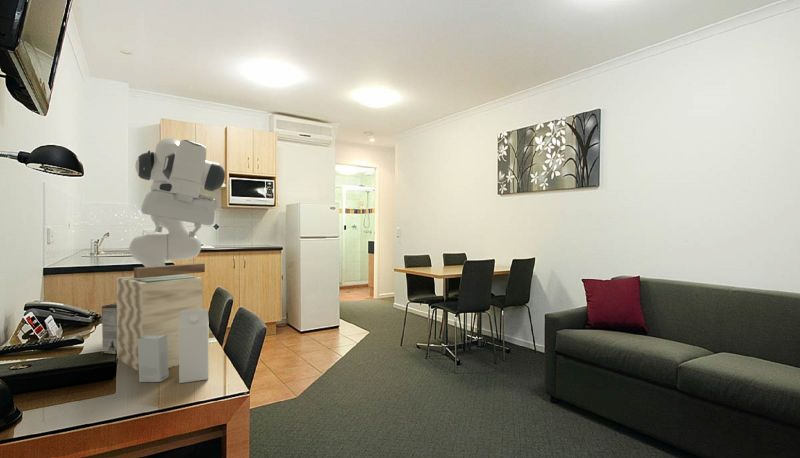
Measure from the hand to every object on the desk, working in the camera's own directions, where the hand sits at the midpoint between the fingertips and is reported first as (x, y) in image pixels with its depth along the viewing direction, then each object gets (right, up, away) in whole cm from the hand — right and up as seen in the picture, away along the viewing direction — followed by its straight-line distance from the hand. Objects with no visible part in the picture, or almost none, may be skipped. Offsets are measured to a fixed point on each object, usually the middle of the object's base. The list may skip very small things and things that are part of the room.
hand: (175, 234), depth 128 cm
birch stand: (-7, -40, +5) cm, 41 cm away
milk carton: (+12, -40, -11) cm, 43 cm away
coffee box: (-26, -40, +14) cm, 50 cm away
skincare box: (+1, -40, -13) cm, 42 cm away
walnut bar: (-8, -14, +13) cm, 21 cm away
